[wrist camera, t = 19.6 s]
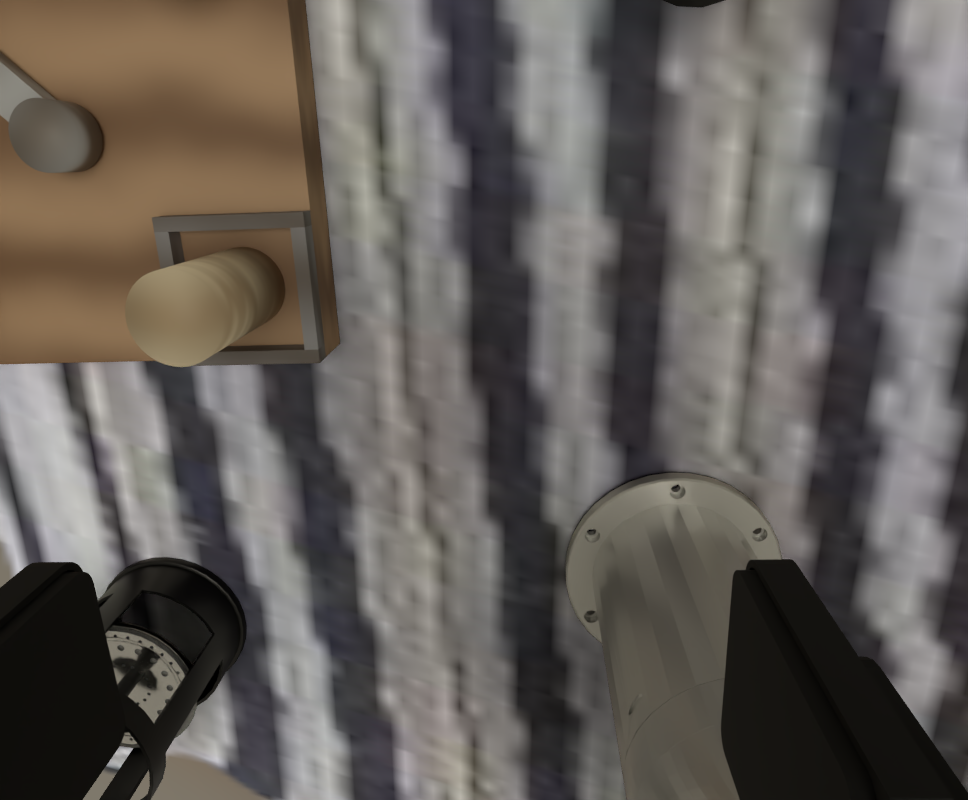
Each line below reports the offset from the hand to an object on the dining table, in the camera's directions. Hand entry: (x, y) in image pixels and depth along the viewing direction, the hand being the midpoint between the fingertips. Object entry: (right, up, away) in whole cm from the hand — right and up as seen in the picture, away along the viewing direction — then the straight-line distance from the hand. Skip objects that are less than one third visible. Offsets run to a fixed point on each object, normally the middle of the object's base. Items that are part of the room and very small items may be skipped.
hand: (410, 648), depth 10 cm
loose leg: (-11, +9, +26) cm, 30 cm away
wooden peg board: (-19, +17, +27) cm, 37 cm away
